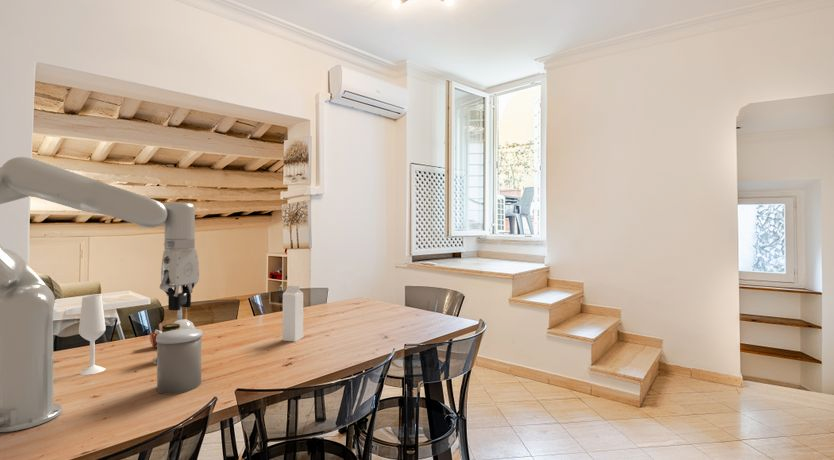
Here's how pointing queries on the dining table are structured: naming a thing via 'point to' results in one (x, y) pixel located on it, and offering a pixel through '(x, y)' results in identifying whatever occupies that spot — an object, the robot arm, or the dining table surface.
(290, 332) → the milk
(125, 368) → the dining table surface
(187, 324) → the potion bottle
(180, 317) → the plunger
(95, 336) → the champagne flute
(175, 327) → the condiment
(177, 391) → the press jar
